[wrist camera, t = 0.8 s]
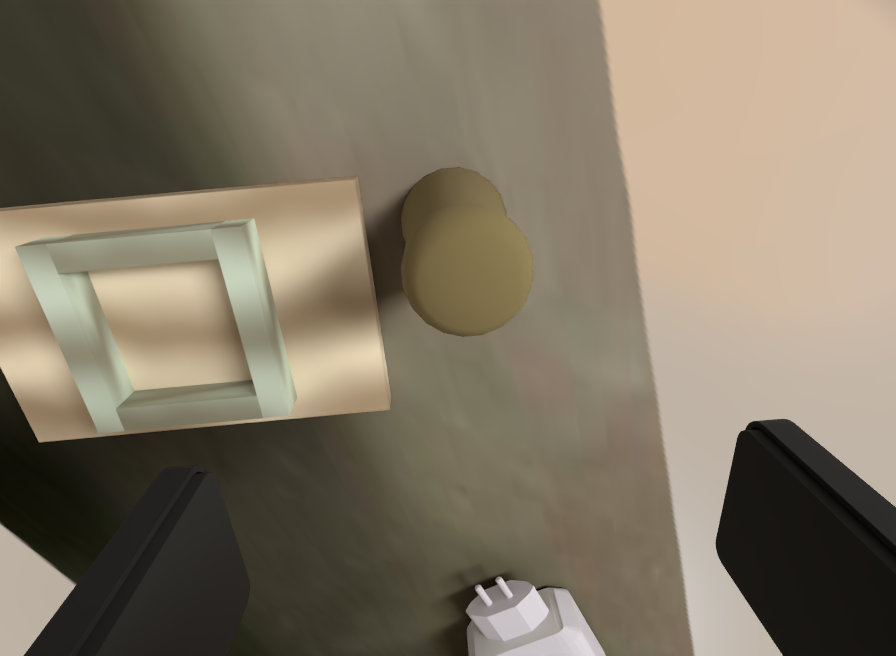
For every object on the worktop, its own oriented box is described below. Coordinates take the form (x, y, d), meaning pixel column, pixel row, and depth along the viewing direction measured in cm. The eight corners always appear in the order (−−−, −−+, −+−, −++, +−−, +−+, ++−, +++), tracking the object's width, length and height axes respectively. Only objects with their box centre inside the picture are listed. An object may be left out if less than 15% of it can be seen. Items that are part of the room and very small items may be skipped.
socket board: (-50, 212, 26) (-116, 226, 23) (357, 176, 26) (348, 184, 23) (55, 428, 32) (14, 463, 29) (390, 396, 32) (387, 428, 29)
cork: (473, 144, 26) (504, 164, 16) (525, 239, 28) (581, 309, 18) (379, 205, 27) (352, 259, 17) (436, 292, 29) (443, 386, 19)
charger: (537, 533, 38) (601, 643, 44) (432, 575, 39) (507, 676, 45) (552, 588, 34) (620, 701, 39) (433, 633, 35) (516, 736, 41)
